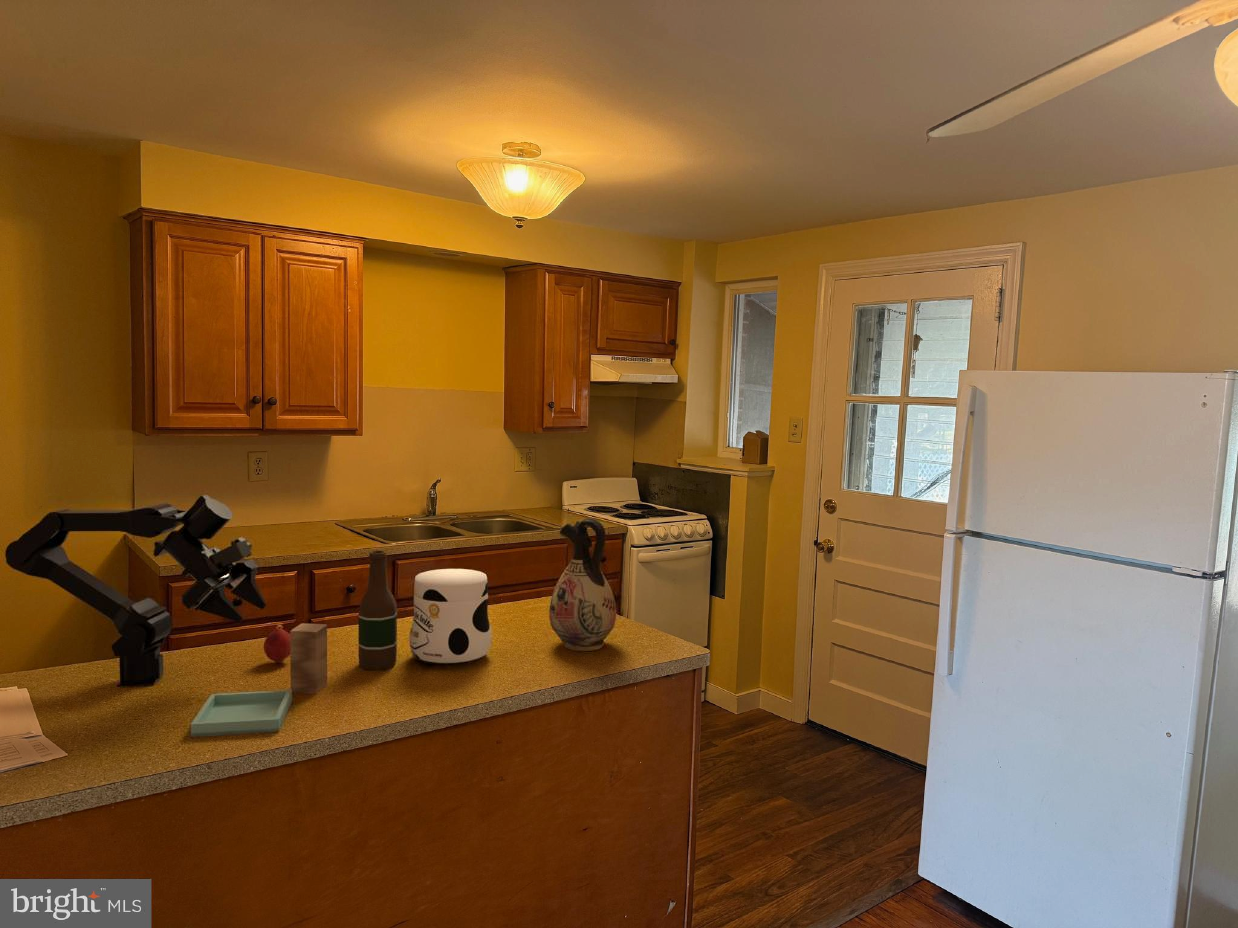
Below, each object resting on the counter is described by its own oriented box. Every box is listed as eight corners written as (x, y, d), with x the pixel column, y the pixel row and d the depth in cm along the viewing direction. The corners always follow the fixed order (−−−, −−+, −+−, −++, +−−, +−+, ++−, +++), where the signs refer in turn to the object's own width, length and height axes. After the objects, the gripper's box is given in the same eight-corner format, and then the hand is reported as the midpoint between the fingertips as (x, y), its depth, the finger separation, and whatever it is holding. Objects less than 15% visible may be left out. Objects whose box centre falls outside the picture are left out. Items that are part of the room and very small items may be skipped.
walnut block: (290, 692, 157) (290, 630, 156) (302, 683, 162) (301, 623, 161) (316, 694, 157) (316, 632, 156) (327, 684, 162) (326, 624, 161)
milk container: (392, 664, 175) (392, 580, 173) (439, 641, 191) (440, 564, 189) (463, 677, 168) (464, 589, 166) (506, 652, 184) (507, 572, 182)
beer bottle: (404, 661, 176) (404, 550, 174) (382, 673, 169) (382, 556, 167) (373, 656, 179) (373, 546, 177) (350, 668, 172) (350, 553, 169)
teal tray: (191, 737, 137) (190, 724, 137) (211, 705, 150) (211, 693, 150) (279, 731, 140) (279, 718, 140) (291, 701, 153) (291, 689, 153)
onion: (283, 668, 170) (282, 630, 169) (257, 666, 171) (257, 628, 170) (299, 659, 176) (299, 622, 175) (275, 657, 177) (274, 620, 176)
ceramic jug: (533, 645, 190) (536, 515, 187) (580, 631, 201) (583, 509, 198) (588, 663, 179) (592, 525, 176) (634, 647, 190) (638, 517, 187)
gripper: (195, 535, 149) (258, 597, 149) (246, 519, 167) (302, 573, 168) (154, 578, 150) (216, 639, 150) (209, 557, 168) (265, 611, 169)
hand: (253, 613), depth 159 cm, fingers open, 9 cm apart
